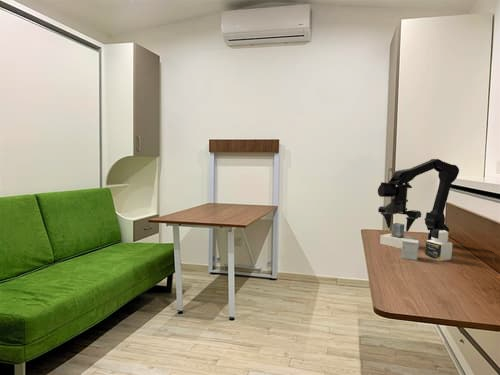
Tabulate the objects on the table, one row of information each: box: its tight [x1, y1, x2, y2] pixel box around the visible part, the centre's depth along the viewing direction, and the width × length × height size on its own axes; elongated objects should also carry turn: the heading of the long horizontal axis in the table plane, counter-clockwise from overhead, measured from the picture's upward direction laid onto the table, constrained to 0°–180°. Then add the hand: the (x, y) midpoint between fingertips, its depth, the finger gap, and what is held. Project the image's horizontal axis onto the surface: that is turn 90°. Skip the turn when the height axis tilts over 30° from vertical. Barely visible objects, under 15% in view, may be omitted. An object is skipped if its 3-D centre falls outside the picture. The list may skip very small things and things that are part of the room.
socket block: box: [379, 232, 415, 250], centre depth 167 cm, size 11×11×4 cm
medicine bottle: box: [424, 229, 453, 262], centre depth 145 cm, size 7×7×12 cm
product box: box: [400, 238, 420, 261], centre depth 145 cm, size 6×6×7 cm
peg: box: [390, 222, 406, 238], centre depth 167 cm, size 4×4×10 cm
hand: (397, 229), depth 166 cm, fingers open, 9 cm apart
